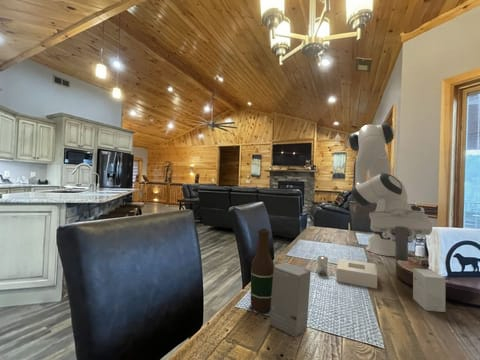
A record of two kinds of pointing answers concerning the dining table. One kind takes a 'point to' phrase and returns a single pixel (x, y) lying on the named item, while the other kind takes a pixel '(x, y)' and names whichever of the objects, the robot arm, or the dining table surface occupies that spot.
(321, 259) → the short pin
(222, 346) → the dining table surface
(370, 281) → the socket block
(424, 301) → the small box
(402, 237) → the dark gray tall block
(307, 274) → the skincare box
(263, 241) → the beer bottle
